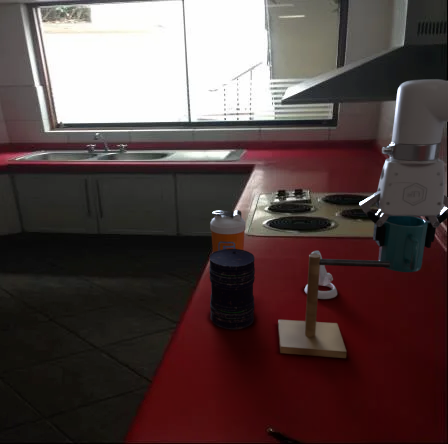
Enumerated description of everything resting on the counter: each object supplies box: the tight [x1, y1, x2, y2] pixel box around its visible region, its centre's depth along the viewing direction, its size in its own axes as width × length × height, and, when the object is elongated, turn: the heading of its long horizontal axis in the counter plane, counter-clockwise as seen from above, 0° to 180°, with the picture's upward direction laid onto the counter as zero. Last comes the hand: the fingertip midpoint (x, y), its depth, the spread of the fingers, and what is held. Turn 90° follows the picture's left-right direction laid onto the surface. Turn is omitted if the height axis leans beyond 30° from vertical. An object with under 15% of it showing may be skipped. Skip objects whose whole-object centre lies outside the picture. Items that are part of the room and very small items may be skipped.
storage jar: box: [208, 249, 256, 330], centre depth 93 cm, size 10×10×15 cm
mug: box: [377, 216, 428, 273], centre depth 78 cm, size 11×7×9 cm
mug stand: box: [277, 253, 390, 359], centre depth 81 cm, size 19×10×19 cm, turn 78°
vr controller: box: [304, 250, 338, 300], centre depth 105 cm, size 8×12×7 cm
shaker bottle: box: [209, 209, 247, 253], centre depth 108 cm, size 9×9×20 cm
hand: (402, 244), depth 80 cm, fingers closed on mug, 7 cm apart
